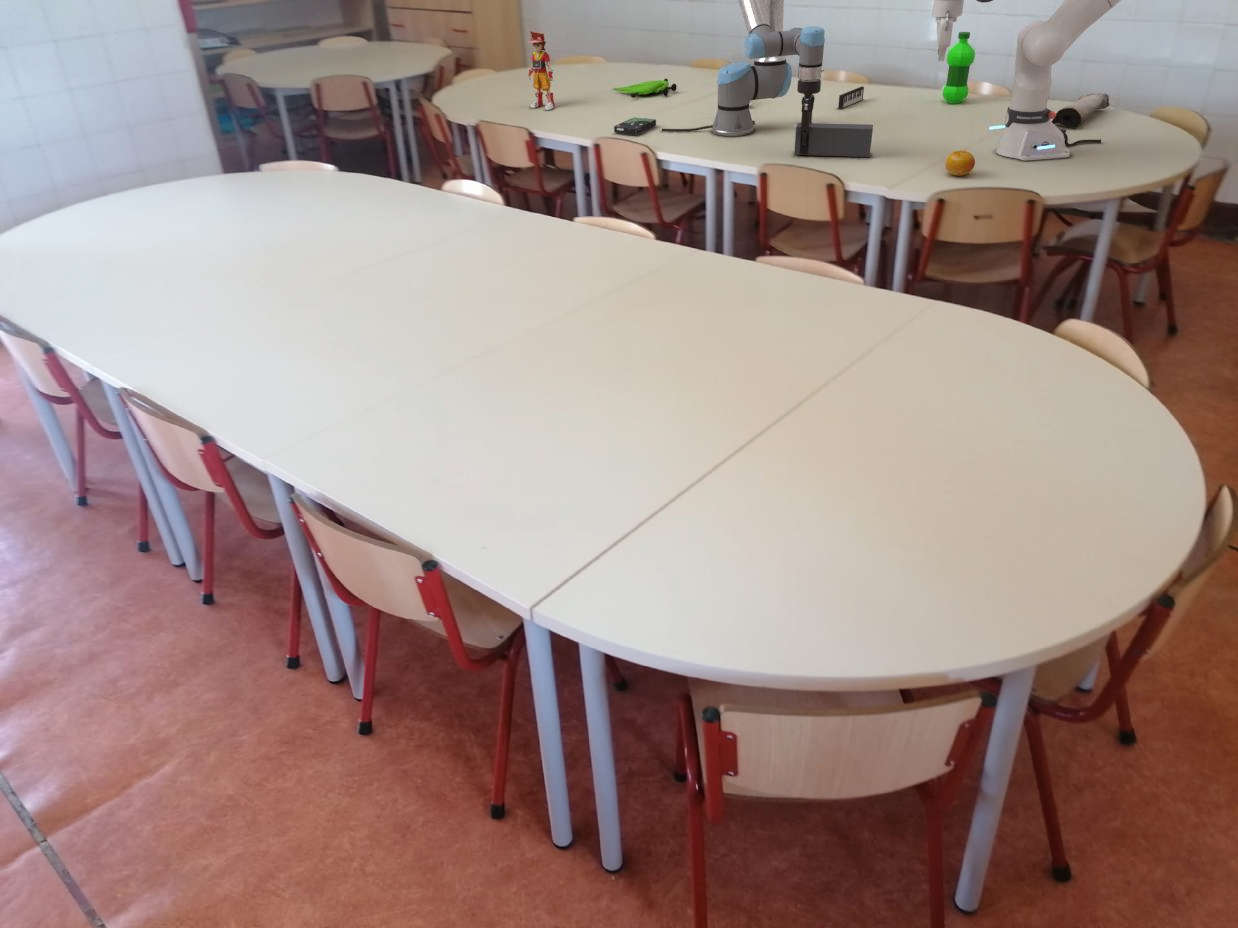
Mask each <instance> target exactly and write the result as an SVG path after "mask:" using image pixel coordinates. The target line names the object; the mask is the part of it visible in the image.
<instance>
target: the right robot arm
mask: <svg viewBox="0 0 1238 928" xmlns="http://www.w3.org/2000/svg"><path fill="white" fill-rule="evenodd" d="M975 1H976V2H979V3H990V2H992V1H994V0H975ZM1121 1H1122V0H1063V2H1062V3H1061V4H1060V6H1059V7H1058V8H1057V9H1056V11H1055V12H1054V13H1053V14H1052V15H1051V16H1050V17H1049V18H1048V19H1047V20H1043V19H1036V20H1032V21H1029V22H1027V23H1026V24H1024V25H1023V26H1022V27H1021V28H1020V30H1019V32H1018V33H1017V38H1016V50H1015V59H1014V60H1015V61H1014V78H1013V85H1012V90H1011V91H1012V92H1011V96H1010V102H1009V106H1008V107H1007V110H1006V113H1005V118H1004V124H1003V125H993V126H989V130H997V129H1003V132H1002V135H1001V138H1000V141H999V142H998V145H997V147H996V149H995V152H996V154H997V155H1000V156H1003V157H1006V158H1011V159H1017V160H1020V161H1023V162H1024V161H1025V162H1026V161H1039V160H1040V161H1041V160H1052V159H1053V160H1054V159H1064V158H1065V159H1067V158H1069V157H1070V155H1071V150H1070V149H1069V148H1070V147H1073V146H1076V145H1078V144H1088V143H1089V144H1091V143H1093V144H1094V143H1095V144H1096V143H1097V144H1098V143H1102V139H1100V138H1099V139H1079V140H1076V141H1073V142H1072V143H1069V139H1068V138H1069V137H1068V134H1067V129H1065V128H1062V127H1061V128H1060V127H1058V126H1057V125H1056V124H1053V123H1052V120H1053V119H1054V117H1056V112H1055V111H1053V110H1051V109H1049V108H1047V105H1048V101H1049V96H1050V92H1051V86H1052V65H1055V64H1056V63H1058V62H1060V60H1061V59H1062V57H1063V56H1064V55H1065V53H1066V51H1068V49H1069V48H1070V47H1071V46H1072V45H1073V44H1074V43H1075V42H1076V40H1077V39H1079V38H1080V37H1081V35H1082V34H1083V33H1084V32H1086V31H1087V29H1089V28H1090V27H1091V26H1092V25H1093V24H1095V23H1096V22H1097V21H1099V19H1100V18H1102V17H1103V16H1104V15H1106V14H1107V13H1108V12H1109V11H1110V10H1112V9H1113V8H1114V7H1116V5H1118V4H1119V3H1120V2H1121ZM932 3H933V4H932V12H931V16H932V17H934V18H935V20H934V21H935V23H936V41H937V43H936V44H937V55H938V57H937V60H938V62H944V61H945V57H946V54H947V49H948V48H950V46H951V43H952V35H953V28H954V23H956V22H957V21H958V17H961V16H962V15H963V10H964V3H965V0H933V2H932ZM1068 147H1069V148H1068Z"/></svg>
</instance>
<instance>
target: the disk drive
mask: <svg viewBox="0 0 1238 928" xmlns="http://www.w3.org/2000/svg"><path fill="white" fill-rule="evenodd" d="M656 126H657V119H655V118H647V117H646V118H645V117H635V116H634V117H631V118H629V119H627V120H625V121H622V122H620V123H618V124H616V125H614V126H613V131H614V133H615V134H620V135H629V136H638V135H641V134H642V133H644V132H646V131H649V130H651V129H653V128H655V127H656Z"/></svg>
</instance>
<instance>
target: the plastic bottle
mask: <svg viewBox="0 0 1238 928" xmlns="http://www.w3.org/2000/svg"><path fill="white" fill-rule="evenodd" d="M970 36H971V32H970V31H959V32H958V36H957V39H958V42H957V43H956V44H954V45H953V46H952V47H951V48H950V49H949V50H948V52H947V53H946V63H947V64H948V69H947V70H948V71H947V76H946V77H947V78H946V84H945V85H944V87H943V90H942V97H943V99H944V100H945V101H946V102H947V103H948V104H960V103H961V102H963V101H964V100H966V98H967V96H968V95H969V85H968V79H969V73H970V67H971V65H972V64H973V63H974V61H975V57H976V51H975V49H974V47H972V45H971V44H970V43H969V42H968V41H969V39H970V38H971V37H970Z"/></svg>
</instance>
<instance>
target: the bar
mask: <svg viewBox="0 0 1238 928" xmlns="http://www.w3.org/2000/svg"><path fill="white" fill-rule="evenodd" d="M873 130H874V124H870V123H869V124H866V123H863V124H862V123H860V124H859V123H823V122H821V123H819V122H812V123H809V143H808V154H800V139H801V135H799V133H800V132H801V122H797V124H796V126H795V134H794V135H795V136H794V152H793V155H795V156H821V157H823V156H824V157H851V158H870V156H871V149H872V142H873V141H872V139H873V132H874V131H873Z"/></svg>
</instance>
